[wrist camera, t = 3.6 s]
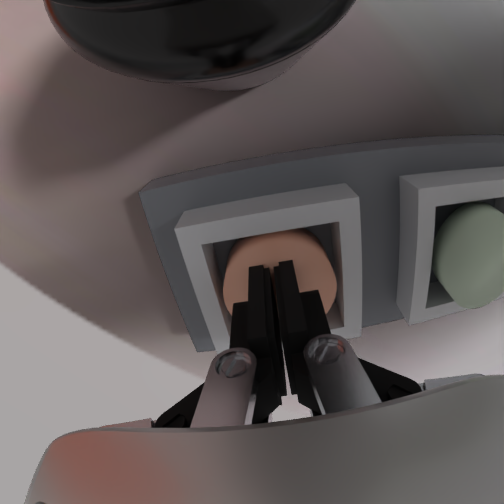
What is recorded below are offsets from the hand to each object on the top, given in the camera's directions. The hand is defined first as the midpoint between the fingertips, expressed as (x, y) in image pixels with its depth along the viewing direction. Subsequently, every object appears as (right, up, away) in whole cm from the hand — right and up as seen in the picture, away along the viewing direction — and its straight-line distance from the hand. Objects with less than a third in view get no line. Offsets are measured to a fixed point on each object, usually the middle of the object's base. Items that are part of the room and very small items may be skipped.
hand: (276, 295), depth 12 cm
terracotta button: (0, +1, +2) cm, 2 cm away
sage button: (+9, +2, 0) cm, 9 cm away
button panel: (+9, +3, +3) cm, 10 cm away
